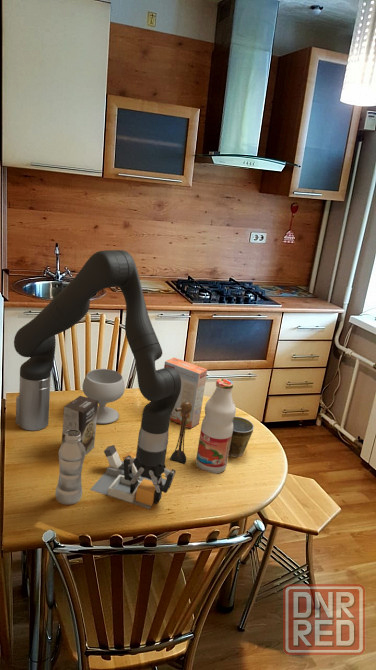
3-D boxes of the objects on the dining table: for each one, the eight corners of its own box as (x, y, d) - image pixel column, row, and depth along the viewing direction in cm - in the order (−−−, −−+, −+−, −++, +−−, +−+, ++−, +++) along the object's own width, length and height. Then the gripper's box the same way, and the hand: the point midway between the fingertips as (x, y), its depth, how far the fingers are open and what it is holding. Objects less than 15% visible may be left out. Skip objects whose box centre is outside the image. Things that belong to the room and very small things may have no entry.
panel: (89, 493, 137) (90, 483, 136) (112, 466, 150) (113, 457, 149) (149, 513, 133) (150, 502, 132) (167, 483, 146) (169, 474, 145)
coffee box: (79, 462, 150) (82, 412, 145) (60, 455, 152) (62, 406, 146) (95, 447, 158) (99, 400, 153) (76, 441, 160) (80, 394, 155)
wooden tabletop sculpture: (172, 467, 154) (181, 407, 147) (164, 459, 157) (172, 400, 151) (188, 463, 157) (198, 404, 150) (180, 455, 160) (189, 397, 154)
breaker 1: (111, 470, 145) (103, 451, 144) (116, 465, 147) (108, 446, 146) (117, 468, 144) (109, 449, 143) (122, 463, 147) (114, 444, 146)
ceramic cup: (254, 453, 167) (260, 426, 164) (235, 463, 160) (241, 435, 157) (223, 436, 175) (228, 409, 172) (204, 445, 168) (208, 417, 165)
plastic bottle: (57, 492, 136) (60, 425, 129) (83, 493, 137) (88, 427, 130) (52, 508, 130) (56, 438, 123) (80, 509, 131) (85, 440, 124)
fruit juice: (232, 468, 157) (248, 385, 148) (210, 478, 151) (225, 391, 142) (210, 453, 164) (224, 372, 154) (189, 462, 157) (202, 378, 148)
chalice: (88, 428, 168) (91, 387, 163) (74, 409, 179) (77, 369, 174) (128, 422, 175) (132, 382, 170) (112, 404, 186) (116, 365, 181)
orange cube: (135, 500, 135) (137, 487, 134) (142, 491, 139) (143, 478, 138) (151, 505, 134) (153, 492, 133) (157, 496, 138) (159, 483, 137)
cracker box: (199, 423, 181) (208, 368, 174) (190, 429, 176) (199, 373, 169) (167, 409, 188) (174, 356, 181) (157, 415, 183) (164, 360, 176)
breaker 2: (131, 476, 143) (122, 457, 143) (135, 471, 146) (126, 452, 145) (137, 474, 143) (128, 455, 142) (141, 469, 145) (132, 450, 144)
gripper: (120, 441, 129) (114, 497, 135) (174, 458, 126) (165, 515, 131) (132, 428, 136) (126, 482, 142) (184, 443, 133) (175, 498, 138)
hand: (145, 497), depth 137 cm, fingers closed on panel, 5 cm apart
